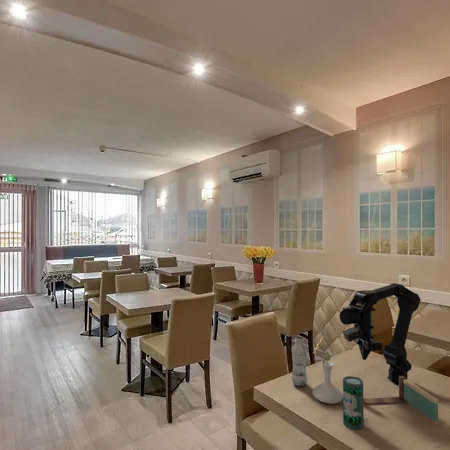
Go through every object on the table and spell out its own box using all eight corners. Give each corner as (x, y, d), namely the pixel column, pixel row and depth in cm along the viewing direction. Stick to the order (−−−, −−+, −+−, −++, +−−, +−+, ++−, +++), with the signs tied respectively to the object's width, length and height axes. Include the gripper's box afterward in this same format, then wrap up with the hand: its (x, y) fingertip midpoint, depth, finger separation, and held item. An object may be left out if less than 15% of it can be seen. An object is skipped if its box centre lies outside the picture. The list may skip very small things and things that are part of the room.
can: (340, 423, 108) (339, 379, 108) (350, 417, 112) (349, 374, 112) (356, 432, 103) (356, 386, 104) (366, 425, 107) (366, 381, 107)
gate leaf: (403, 399, 121) (403, 379, 121) (407, 398, 121) (407, 379, 121) (434, 422, 106) (434, 400, 106) (438, 421, 107) (438, 400, 107)
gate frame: (402, 398, 124) (402, 375, 124) (408, 402, 121) (408, 379, 121) (355, 400, 123) (354, 377, 123) (359, 404, 120) (358, 381, 120)
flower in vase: (321, 388, 132) (321, 328, 132) (348, 398, 124) (347, 334, 124) (304, 400, 123) (304, 335, 123) (332, 412, 115) (331, 343, 115)
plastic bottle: (305, 381, 138) (305, 335, 138) (308, 389, 131) (308, 340, 131) (290, 380, 139) (290, 334, 139) (292, 388, 132) (292, 340, 132)
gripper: (335, 316, 141) (335, 351, 141) (356, 329, 122) (356, 370, 122) (360, 315, 141) (360, 350, 141) (383, 329, 123) (384, 369, 123)
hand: (364, 359), depth 132 cm, fingers closed
